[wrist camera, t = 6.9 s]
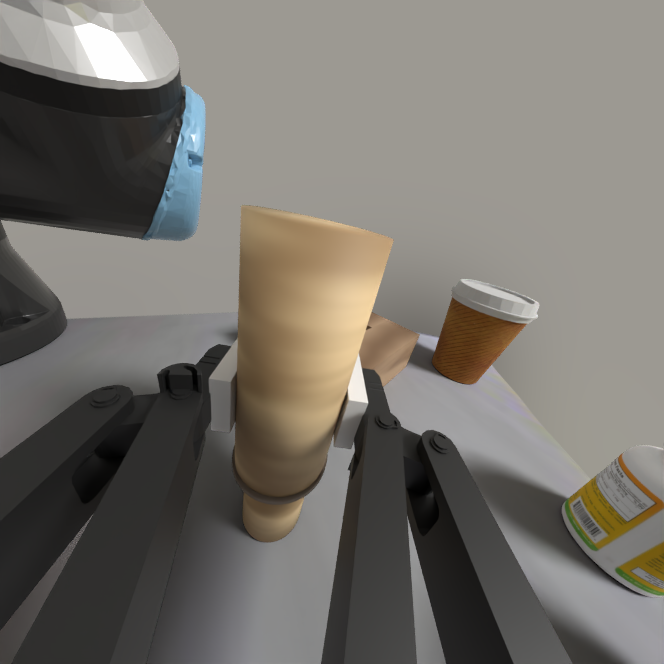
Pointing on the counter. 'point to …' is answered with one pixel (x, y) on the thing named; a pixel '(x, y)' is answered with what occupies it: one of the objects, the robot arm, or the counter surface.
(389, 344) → the seat block
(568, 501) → the supplement bottle
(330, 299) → the leg
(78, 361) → the counter surface
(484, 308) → the disposable coffee cup
